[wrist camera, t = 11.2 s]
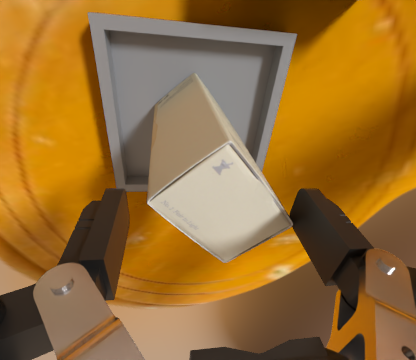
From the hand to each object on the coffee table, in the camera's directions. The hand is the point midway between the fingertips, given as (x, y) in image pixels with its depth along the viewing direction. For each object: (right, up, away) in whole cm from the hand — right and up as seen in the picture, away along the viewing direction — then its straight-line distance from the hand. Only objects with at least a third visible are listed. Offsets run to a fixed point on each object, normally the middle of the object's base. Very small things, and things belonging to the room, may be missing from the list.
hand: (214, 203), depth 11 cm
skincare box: (-1, +7, +9) cm, 12 cm away
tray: (-2, +7, +10) cm, 12 cm away
